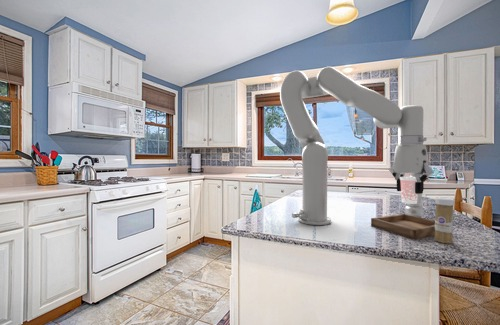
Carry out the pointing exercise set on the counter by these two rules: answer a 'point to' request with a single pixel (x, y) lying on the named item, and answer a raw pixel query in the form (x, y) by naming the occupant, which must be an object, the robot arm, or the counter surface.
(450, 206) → the sprinkles bottle
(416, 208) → the plastic bottle
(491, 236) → the counter surface
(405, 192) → the beverage cup
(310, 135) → the robot arm
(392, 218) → the walnut tray
